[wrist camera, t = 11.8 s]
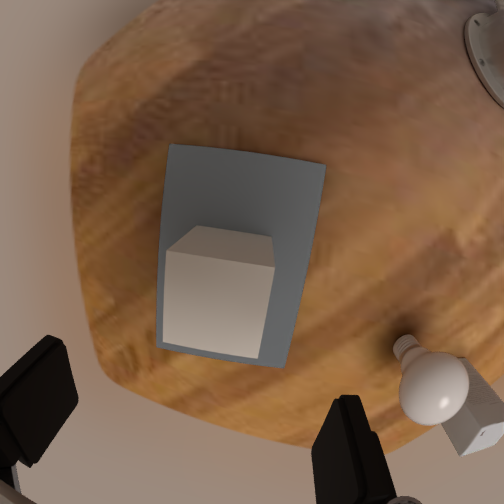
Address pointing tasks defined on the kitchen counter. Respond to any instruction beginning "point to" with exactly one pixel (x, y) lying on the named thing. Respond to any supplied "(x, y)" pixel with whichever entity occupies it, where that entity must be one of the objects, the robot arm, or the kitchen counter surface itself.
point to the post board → (245, 226)
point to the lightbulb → (429, 382)
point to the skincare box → (476, 416)
